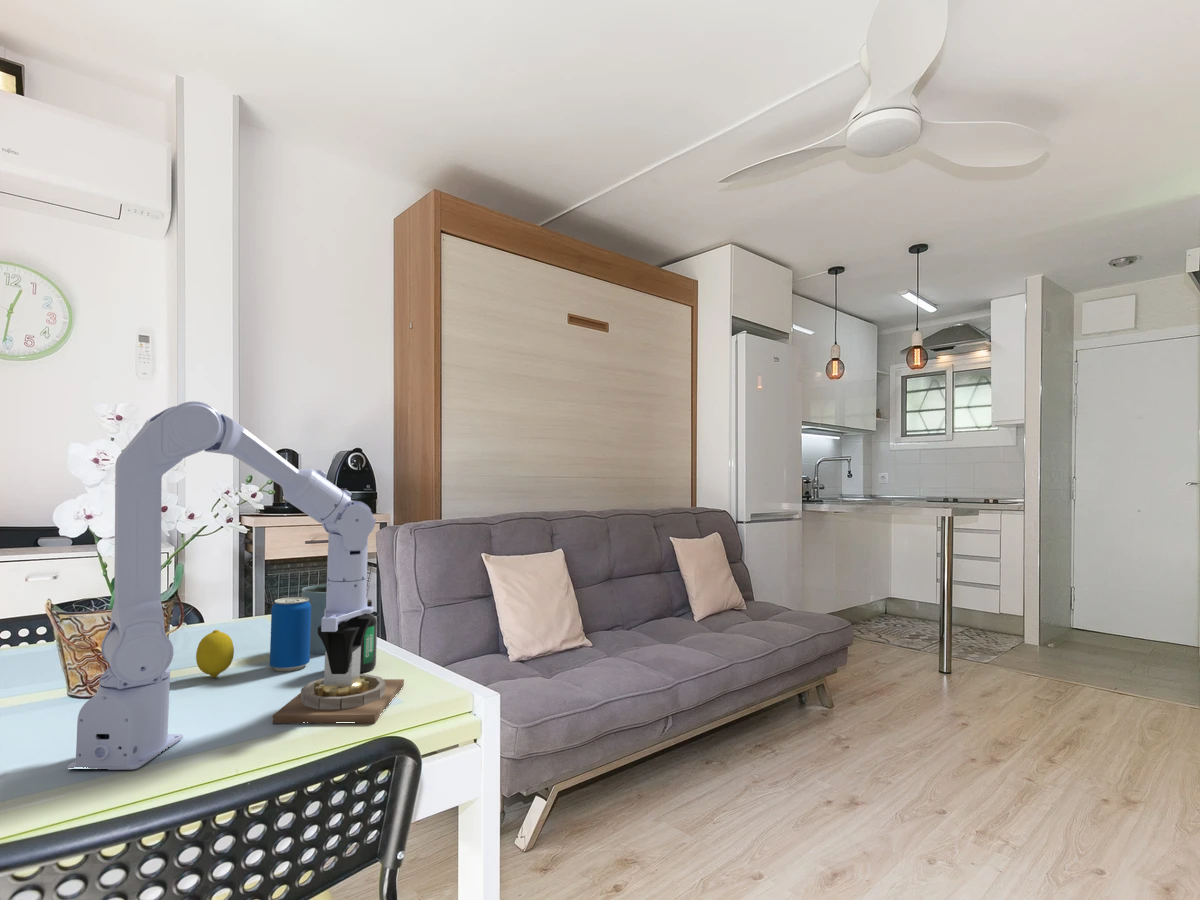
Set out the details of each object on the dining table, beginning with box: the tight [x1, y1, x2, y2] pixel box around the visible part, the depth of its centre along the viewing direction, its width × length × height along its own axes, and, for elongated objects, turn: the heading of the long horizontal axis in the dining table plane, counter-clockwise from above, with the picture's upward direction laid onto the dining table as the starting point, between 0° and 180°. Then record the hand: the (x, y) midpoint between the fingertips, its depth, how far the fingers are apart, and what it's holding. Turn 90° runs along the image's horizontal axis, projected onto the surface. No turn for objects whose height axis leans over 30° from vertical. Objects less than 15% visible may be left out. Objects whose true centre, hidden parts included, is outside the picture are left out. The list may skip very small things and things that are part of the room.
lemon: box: [195, 629, 235, 678], centre depth 111 cm, size 6×6×8 cm
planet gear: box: [314, 645, 369, 697], centre depth 99 cm, size 8×8×6 cm
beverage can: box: [269, 596, 311, 672], centre depth 118 cm, size 6×6×12 cm
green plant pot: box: [301, 583, 327, 655], centre depth 131 cm, size 10×10×12 cm
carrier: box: [271, 673, 405, 725], centre depth 99 cm, size 16×14×3 cm
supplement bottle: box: [360, 598, 378, 674], centre depth 117 cm, size 7×7×12 cm
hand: (344, 669), depth 99 cm, fingers closed on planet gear, 4 cm apart
